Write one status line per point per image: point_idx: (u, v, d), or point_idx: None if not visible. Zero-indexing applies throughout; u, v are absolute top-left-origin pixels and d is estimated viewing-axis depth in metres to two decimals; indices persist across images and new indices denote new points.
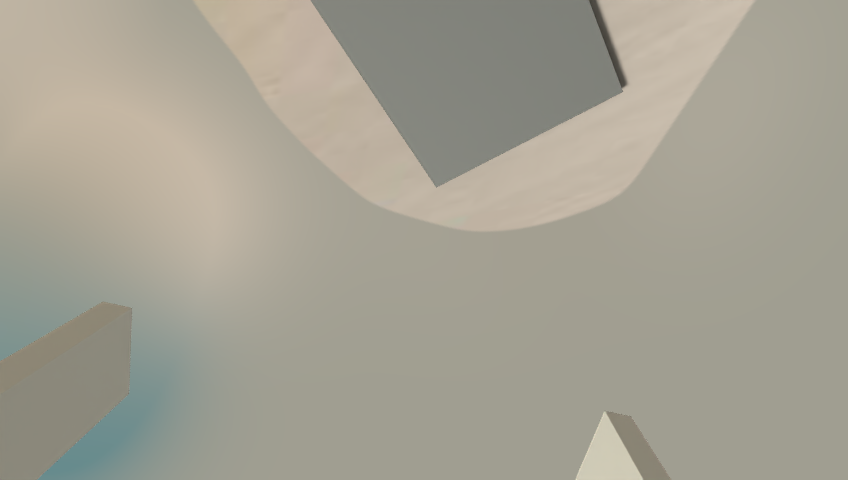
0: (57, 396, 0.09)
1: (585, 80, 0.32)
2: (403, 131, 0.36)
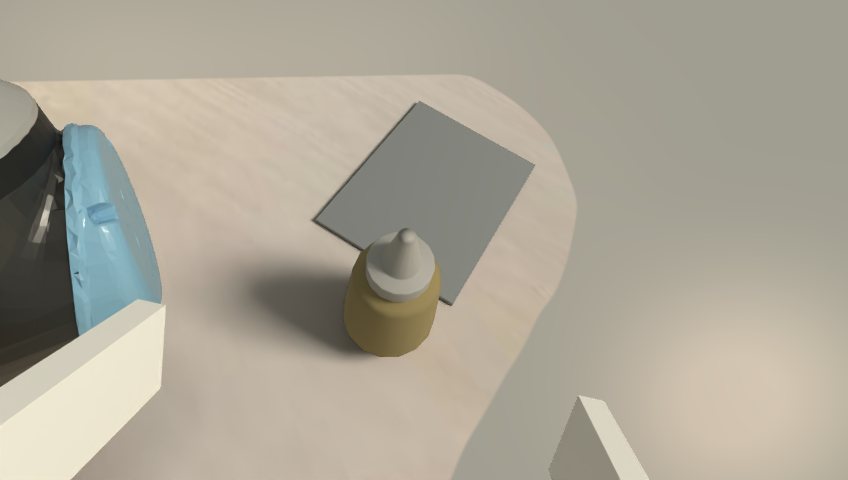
0: (101, 388, 0.10)
1: (424, 119, 0.53)
2: (513, 196, 0.49)
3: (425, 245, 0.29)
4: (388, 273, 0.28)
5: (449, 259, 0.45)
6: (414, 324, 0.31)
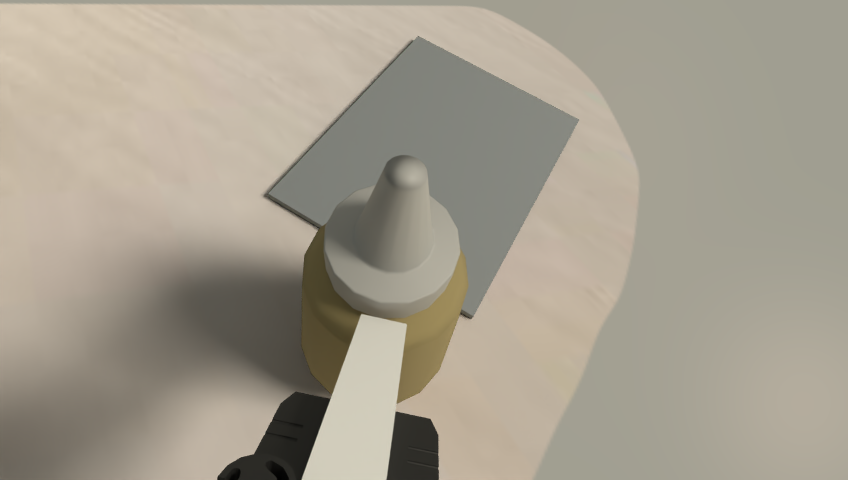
0: None
1: (425, 59, 0.38)
2: (551, 161, 0.35)
3: (440, 208, 0.15)
4: (367, 260, 0.14)
5: (466, 249, 0.30)
6: (419, 358, 0.17)
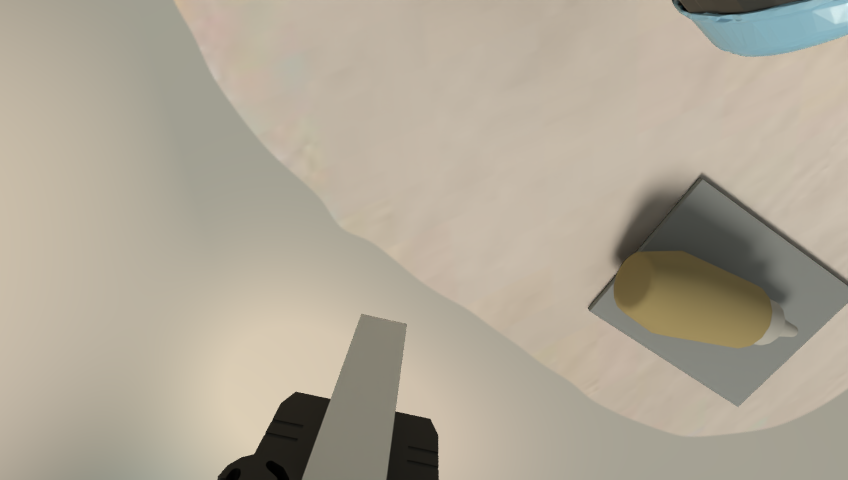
0: None
1: (826, 297, 0.44)
2: (701, 379, 0.47)
3: None
4: None
5: None
6: (729, 344, 0.39)
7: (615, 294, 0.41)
